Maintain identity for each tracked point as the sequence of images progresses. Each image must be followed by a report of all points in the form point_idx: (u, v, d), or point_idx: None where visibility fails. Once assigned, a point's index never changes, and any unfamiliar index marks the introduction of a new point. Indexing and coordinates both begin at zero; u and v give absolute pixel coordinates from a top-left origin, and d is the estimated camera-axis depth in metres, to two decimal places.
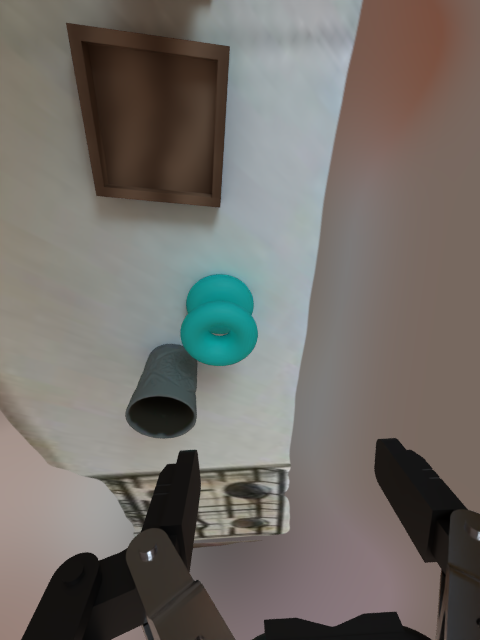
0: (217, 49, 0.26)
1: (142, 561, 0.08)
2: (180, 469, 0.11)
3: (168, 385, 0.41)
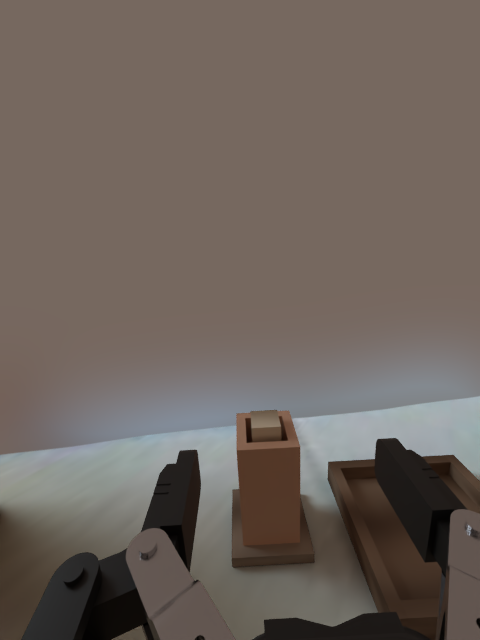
0: (334, 469, 0.32)
1: (142, 561, 0.08)
2: (180, 469, 0.11)
3: None
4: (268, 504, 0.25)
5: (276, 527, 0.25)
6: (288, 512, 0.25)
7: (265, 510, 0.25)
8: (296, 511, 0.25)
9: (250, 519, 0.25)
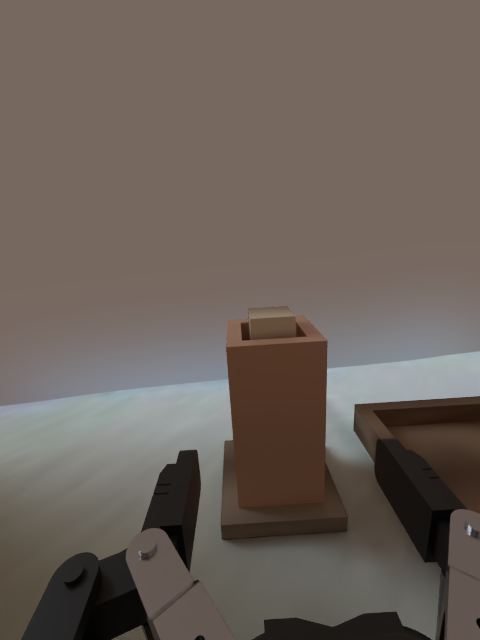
0: (364, 411, 0.23)
1: (142, 561, 0.08)
2: (180, 469, 0.11)
3: None
4: (277, 440, 0.16)
5: (288, 478, 0.17)
6: (307, 453, 0.16)
7: (272, 450, 0.16)
8: (319, 451, 0.16)
9: (249, 465, 0.16)
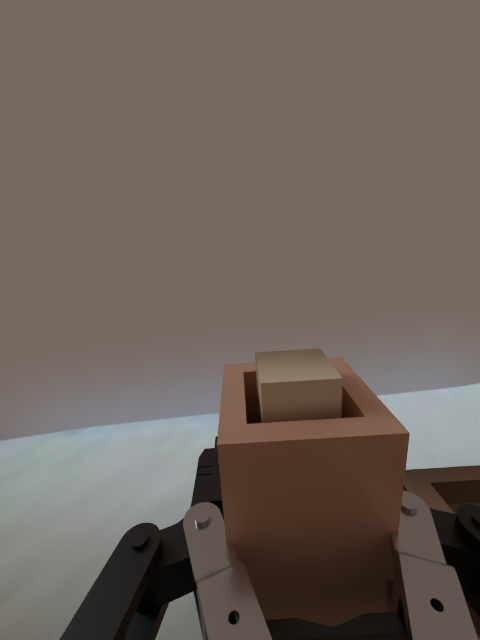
0: (418, 484, 0.16)
1: (199, 530, 0.09)
2: None
3: None
4: (308, 592, 0.09)
5: None
6: (359, 610, 0.09)
7: (298, 606, 0.09)
8: (380, 608, 0.09)
9: None
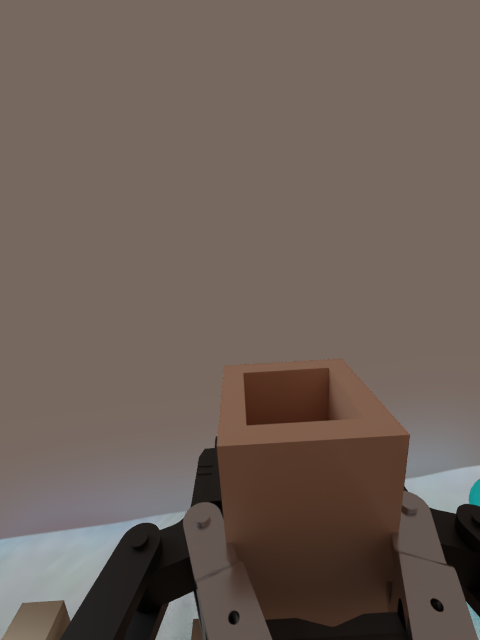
0: (195, 636, 0.23)
1: (199, 530, 0.09)
2: None
3: None
4: (307, 594, 0.09)
5: None
6: (359, 613, 0.09)
7: (298, 608, 0.09)
8: (380, 610, 0.09)
9: None
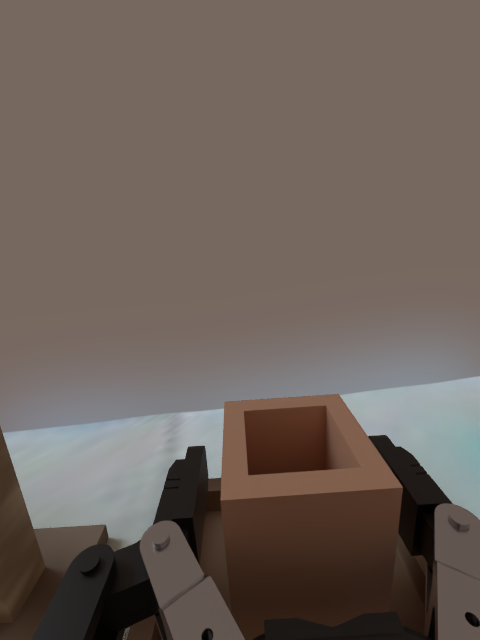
0: None
1: (156, 552, 0.08)
2: (189, 464, 0.12)
3: None
4: None
5: None
6: None
7: None
8: None
9: None
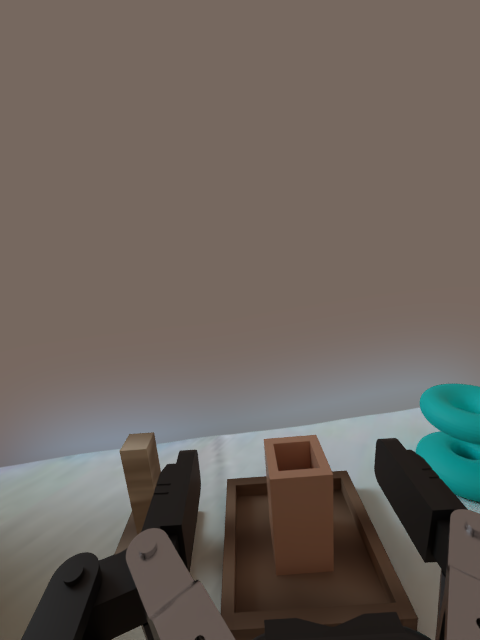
0: (229, 486, 0.33)
1: (142, 561, 0.08)
2: (180, 469, 0.11)
3: None
4: (302, 533, 0.24)
5: (309, 556, 0.25)
6: (321, 540, 0.25)
7: (298, 539, 0.24)
8: (329, 539, 0.25)
9: (283, 548, 0.25)
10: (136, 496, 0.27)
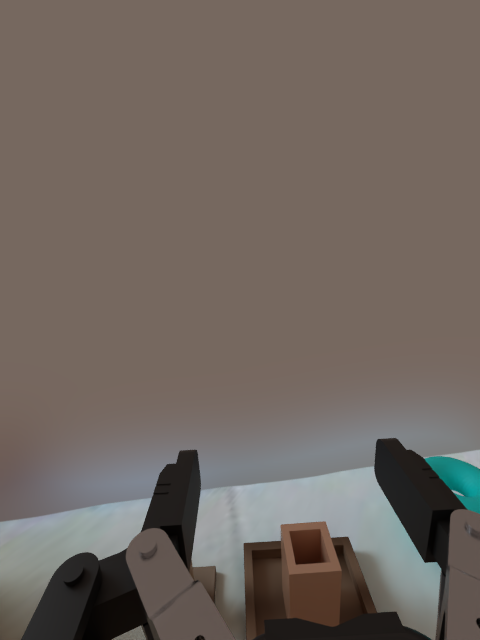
0: (246, 551, 0.38)
1: (142, 561, 0.08)
2: (180, 469, 0.11)
3: None
4: (313, 613, 0.29)
5: None
6: (329, 618, 0.29)
7: (310, 618, 0.29)
8: (336, 618, 0.29)
9: None
10: None
